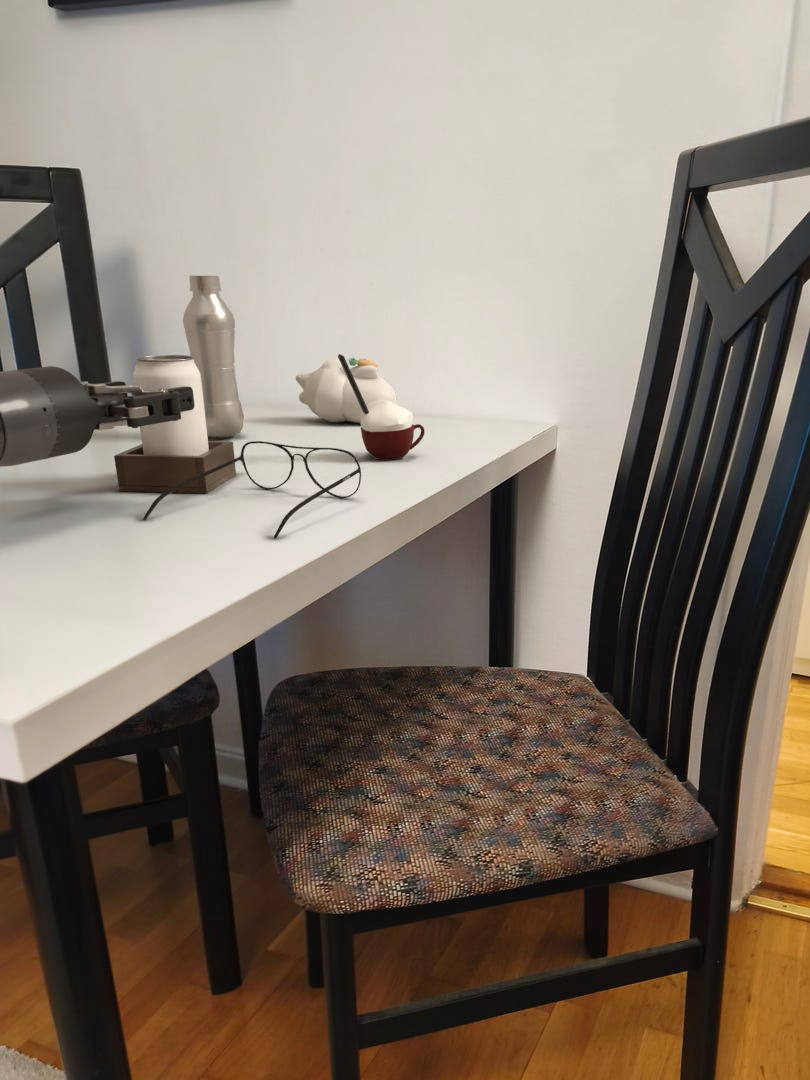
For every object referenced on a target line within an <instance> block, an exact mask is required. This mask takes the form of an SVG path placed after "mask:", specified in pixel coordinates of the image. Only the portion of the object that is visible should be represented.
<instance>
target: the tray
mask: <svg viewBox="0 0 810 1080" xmlns="http://www.w3.org/2000/svg"><path fill="white" fill-rule="evenodd" d="M208 447H209V451H207V452H205V453H203V454H201V455H200V456H178V455H144V453H143V446H142V443H141V444H138V445H136V446H133V447H131V448H129V449H126V450H124V451H122V452H119V453H117V454H115V455H113V458H114V465H115V471H116V472H115V473H116V478H117V479H116V480H117V485H118V491H119V492H138V493H139V492H140V493H164V492H166V491H167V490H169V489H171V488H172V487H174V486H176V485H178V484H180V483H182V482H184V481H186V480H188V479H191V478H193V477H195V476H197V475H199V474H202V473H204V472H206V471H208V470H211V469H213V468H215V467H218V466H220V465H222V464H225V463H227V462H229V461H231V460H234V459H236V457H235V449H234V442H233V441H232V440H231V441H228V440H208ZM236 475H237V470H236V462H234V463H232V464H230V465H228V466H226V467H224V468H222V469H219V470H217V471H215V472H213V473H211V474H208V475H206V476H204V477H202V478H200V479H197V480H195V481H193V482H191V483H189V484H187V485H185V486H183V487H181V488H179V489H177V490H175V491H173V492H172V493H177V494H178V493H179V494H209V493H210V492H212V491H213V490H214V489H216V488H217V487H219V486H221V485H222V484H224V483H225V482H227V481H228V480H230V479H231V478H233V477H235V476H236Z"/></svg>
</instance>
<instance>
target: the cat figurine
mask: <svg viewBox="0 0 810 1080" xmlns="http://www.w3.org/2000/svg"><path fill="white" fill-rule="evenodd" d="M347 360H348V363H349V366H351V368H349V369H350V371H351V373H352V375H353V377H354V380H355V382H356V384H357V386H358V388H359V391H360V393H361V395H362V397H363V399H364V402H365V404H366V405H367V404H368V403H370V402H373V401H376V400H388V401H391V402H393V403H395V404H396V405H398V396H397V394H396V392H395V390H394V388H393V387H392V386H391V384H389V383H388V382H387V381H386V379H385V380H384V378H382V377H380V376H379V374H378V367H379V365H378V364H377V363H376V362H374V361H372V360H370V359H368V358H367V359H366V358H359V359H356V358H355V357H352V358H350V357H349V359H347ZM352 366H353V367H352ZM295 381H296V382H297V384H298V385H299V386H300V387H301V389H302V391H301V392H300V393H299V395H298V400H299V402H300V403H302V404H304V405H306V406H307V407H308V408H309V410H310V411H311V412H312V413H314V414H315V415H316V416H317V417H319V418H321V419H323V420H325V421H327V422H331V423H342V422H346V421H347V422H350V423H353V424H354V423H356V424H361V423H360V418H361V414H362V409H361V407H360V404H359V402H358V400H357V398H356V396H355V393H354V391H353V389H352V387H351V385H350V382H349V380H348V378H347V376H346V374H345V371H344V369H343V367H342V365H341V363H340V360H339V358H332V359H329V360H326V361H325V362H323V364H322V365H321V366H320V367H318V368H317V369H315V370H314V371H312V372H308V373H298V374H296V375H295Z"/></svg>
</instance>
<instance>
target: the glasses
mask: <svg viewBox="0 0 810 1080" xmlns="http://www.w3.org/2000/svg"><path fill="white" fill-rule="evenodd" d="M251 444H264V445H266V444H267V445H271V446H274V447H277V448H279V449H281V450H283V451H284V452H285V453H286V454H287V456H288V457H289V458H290V471H289V473H288V476H287V477H286V479H285V480H284V481H283V482H282V483H280V484H279V485H277V486H274V487H266V486H263V485H260V484H259V483H258V482H256V481H255V480H254V479H253V478H252V477H251V475H250V474H249V471H248V468H247V466H246V462H245V456H244V452H245V449H246V447H247V446H248V445H251ZM288 448H291V449H301V450H309V451H308V452H307V453H306V454H305V456H304V455H303V454H301V453H294V454H293V455H292V452H290V451H289V450H288ZM320 450H322V451H323V450H324V451H325V450H329V451H336V452H341V453H345V454H347V455H349V456H350V457H351V458H352V459H353V460H354V462H355V463H356V465H357V469H356V470H354V471H352V472H351V473H348V474H347V475H345V476H344V477H342V478H340V479H339V480H337V481H335V482H333V483H331V484H330V485H327V486H326V487H324V486H322V484H320V483H319V482H318V481H317V480H316V478H315V477H314V475H313V474H312V472H311V470H310V468H309V464H308V457H309V455H310V454H311V453H313V452H316V451H320ZM240 451H241V452H240V455H239V456H238V457H235V459H234V460H231V461H229V462H227V463H225V464H222V465H220V466H218V467H215V468H213V469H211V470H208V471H206V472H204V473H202V474H199V475H197V476H195V477H193V478H191V479H188V480H186V481H184V482H182V483H180V484H178V485H176V486H174V487H172V488H171V489H169V490H167V491H166V492H162V493H161V494H160V495H159V496H158V497H156V498H155V500H154V501H153V502H152V503H151V505H150V507H149V508H148V510H147V511H146V513H145V515H144V517H143V518H142V520H143V521H146V520H147V519H148V517H150V514H151V513H152V512H153V511H154V510H155V508H156V506H157V505H158V504H159V503H160V502H161V501H162V500H163V499H164V498H166V497H167V496H169V495H170V494H172V493H174V492H173V491H175V490H177V489H179V488H181V487H183V486H185V485H187V484H189V483H191V482H193V481H195V480H197V479H200V478H202V477H204V476H206V475H208V474H211V473H213V472H215V471H217V470H219V469H222V468H224V467H226V466H228V465H230V464H232V463H234V462H235V463H236V462H238V461H241V463H242V466H243V468H244V471H245V473H246V475H247V476H248V478H249V480H250V481H251V482H252V483H253V484H254V485H255V486H257V487H258V488H261V489H263V490H267V491H268V490H270V491H271V490H274V489H278V488H280V487H281V486H283V485H284V484H286V483H287V482H288V481H289V480H290V478H291V476H292V474H293V471H294V469H295V468H294V467H295V463H294V460H295V456H300V457H301V458H302V461H303V463H304V466H305V470H306V472H307V474H308V476H309V478H310V479H311V481H312V482H313V483H314V484H315V485H316V486H317V487H318V488H319V489H321V490H319V491H317V492H316V493H313V494H312V495H310V496H309V497H307V498H305V499H304V500H302V501H301V502H300V503H298V504H297V505H295V506H294V507H293V508H292V509H290V510H289V512H287V513H286V515H285V516H284V517H283V519H282V520H281V523H280V524H279V525H278V527H277V530H276V531H275V534H274V536H273V539H277V538H278V537H279V535H280V533H281V531H282V530H283V529H284V527H285V525H286V523H287V522H288V521H289V519H290V518H291V517H292V516H293V515H294V514H295V513H296V512H298V511H299V510H300V509H301V508H302V507H304V506H305V505H307V504H309V503H311V502H312V501H313V500H315V499H317V498H318V497H320V496H322V495H324V494H325V493H326V494H328V495H330V496H332V497H335V498H338V499H347V498H350V497H352V496H354V495H355V494H356V493H357V492H358V490H359V488H360V485H361V482H362V481H361V480H362V470H361V469H362V468H361V465H360V463H359V460H358V459H357V457H356V456H355V455H354V454H353V453H352V452H351V451H349V450H346V449H341V448H337V447H314V446H313V447H311V446H297V445H296V446H295V445H288V444H280V443H275V442H269V441H262V440H255V441H254V440H253V441H247V442H246V443H244V444H243V446H242V447H241V450H240ZM357 474H359V475H358V476H359V478H358V484H357V487H356V489H355V490H354V492H353V493H351V494H349V495H346V496H345V495H344V496H341V495H337V494H335V493H334V492H331V491H330V490H332V489H334V488H336V487H337V486H339V485H341V484H342V483H345V482H346V481H348V480H350V479H351V478H352V477H354V476H356V475H357Z"/></svg>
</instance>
